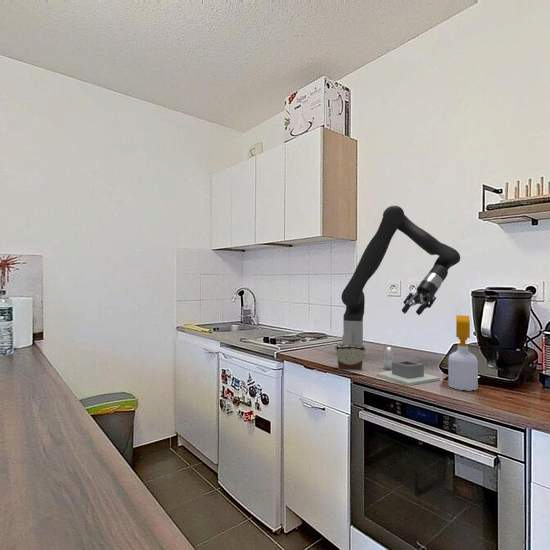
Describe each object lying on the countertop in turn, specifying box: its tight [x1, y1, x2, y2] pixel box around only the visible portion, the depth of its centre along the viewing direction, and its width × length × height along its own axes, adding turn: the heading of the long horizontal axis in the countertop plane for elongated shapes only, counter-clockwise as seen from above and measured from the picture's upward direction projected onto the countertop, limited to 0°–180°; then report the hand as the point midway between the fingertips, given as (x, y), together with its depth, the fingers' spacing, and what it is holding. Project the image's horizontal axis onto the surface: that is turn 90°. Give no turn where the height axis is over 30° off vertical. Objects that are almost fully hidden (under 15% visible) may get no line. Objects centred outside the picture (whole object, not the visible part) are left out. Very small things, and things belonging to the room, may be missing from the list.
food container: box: [334, 343, 366, 372], centre depth 160 cm, size 12×6×10 cm, turn 84°
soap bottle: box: [447, 314, 479, 392], centre depth 132 cm, size 9×9×25 cm
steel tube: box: [383, 346, 395, 371], centre depth 159 cm, size 4×4×9 cm
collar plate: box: [376, 360, 441, 386], centre depth 145 cm, size 16×16×6 cm
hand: (410, 313), depth 164 cm, fingers open, 8 cm apart
